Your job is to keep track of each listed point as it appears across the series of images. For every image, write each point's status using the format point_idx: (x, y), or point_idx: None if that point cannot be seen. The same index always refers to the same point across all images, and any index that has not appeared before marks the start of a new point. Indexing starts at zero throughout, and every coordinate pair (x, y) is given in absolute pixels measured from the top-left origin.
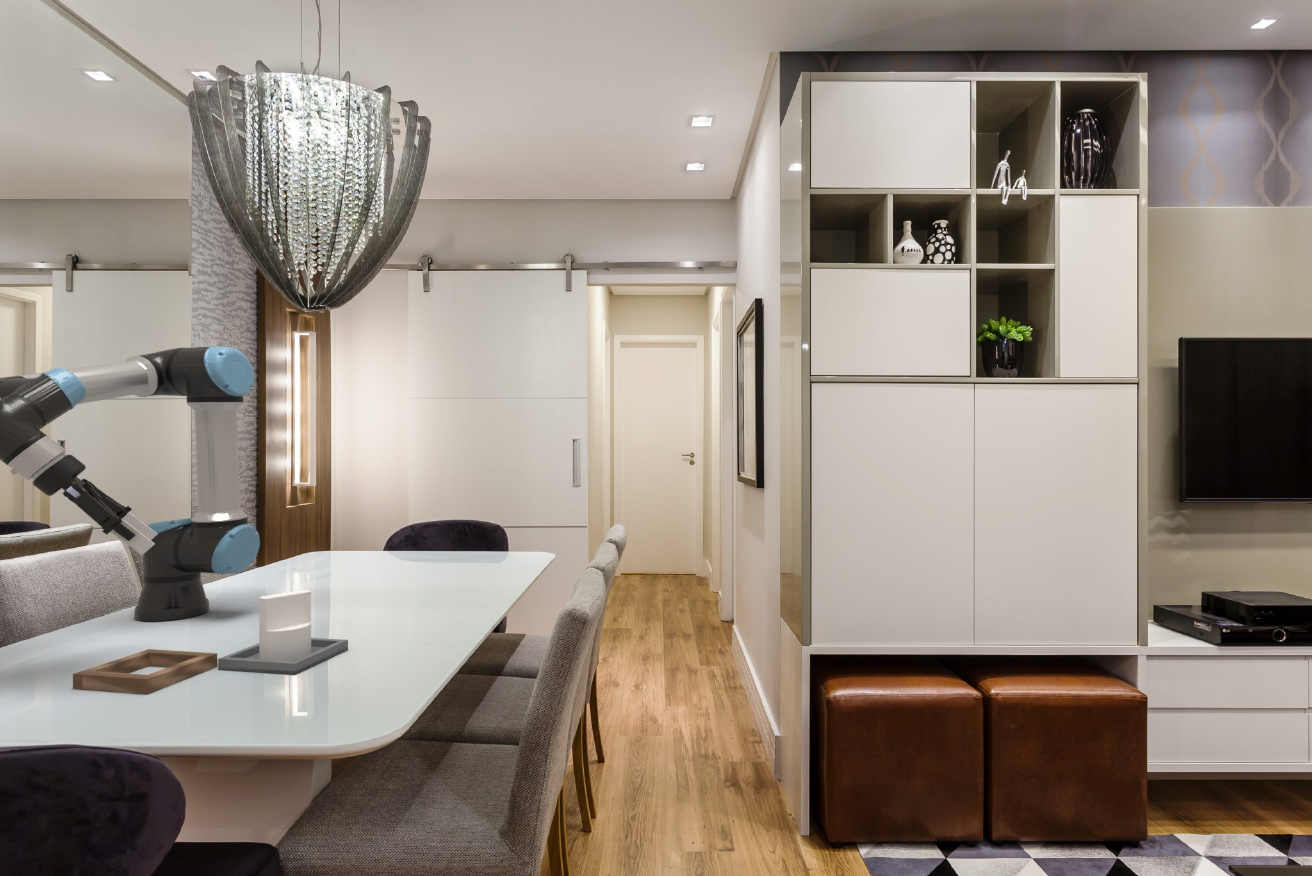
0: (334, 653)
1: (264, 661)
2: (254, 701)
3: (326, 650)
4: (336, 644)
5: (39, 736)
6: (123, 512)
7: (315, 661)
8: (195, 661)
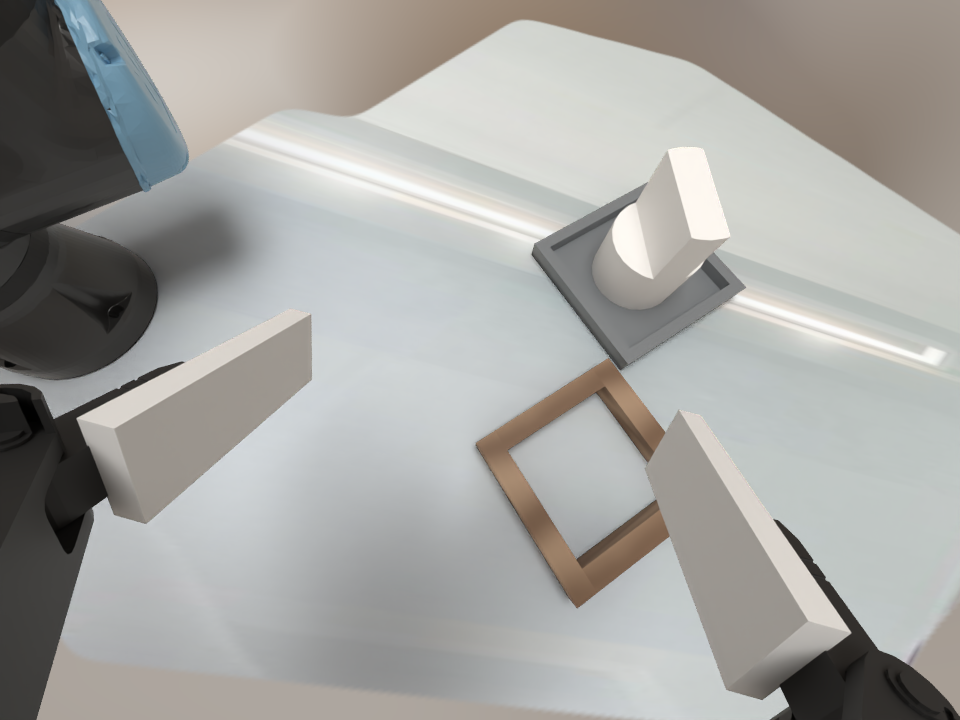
0: None
1: (700, 315)
2: (839, 383)
3: None
4: None
5: None
6: (49, 472)
7: None
8: (641, 402)
